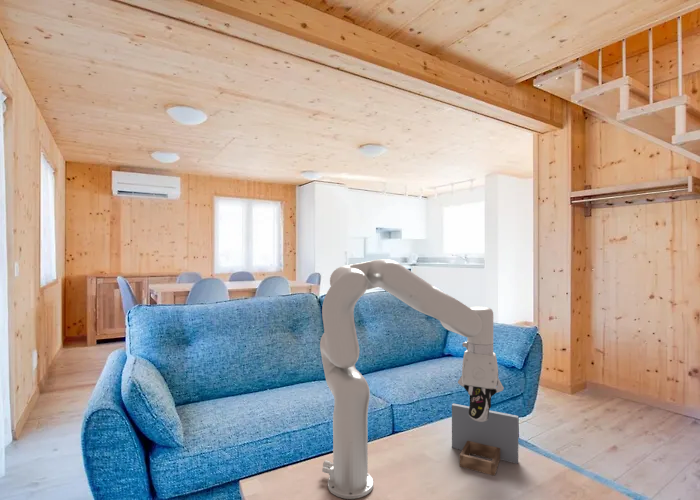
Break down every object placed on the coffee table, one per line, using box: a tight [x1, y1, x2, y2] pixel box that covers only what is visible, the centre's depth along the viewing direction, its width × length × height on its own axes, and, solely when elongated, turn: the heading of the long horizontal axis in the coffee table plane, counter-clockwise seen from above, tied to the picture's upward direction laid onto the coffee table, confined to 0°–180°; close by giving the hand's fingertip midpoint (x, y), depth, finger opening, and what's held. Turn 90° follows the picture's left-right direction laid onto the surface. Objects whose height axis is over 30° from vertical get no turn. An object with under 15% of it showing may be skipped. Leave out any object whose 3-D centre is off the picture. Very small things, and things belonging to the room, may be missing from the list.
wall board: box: [451, 403, 519, 465], centre depth 126 cm, size 20×2×14 cm, turn 61°
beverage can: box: [468, 387, 492, 422], centre depth 121 cm, size 6×6×12 cm
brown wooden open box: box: [459, 441, 501, 477], centre depth 121 cm, size 10×10×4 cm
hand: (480, 407), depth 121 cm, fingers closed on beverage can, 3 cm apart
